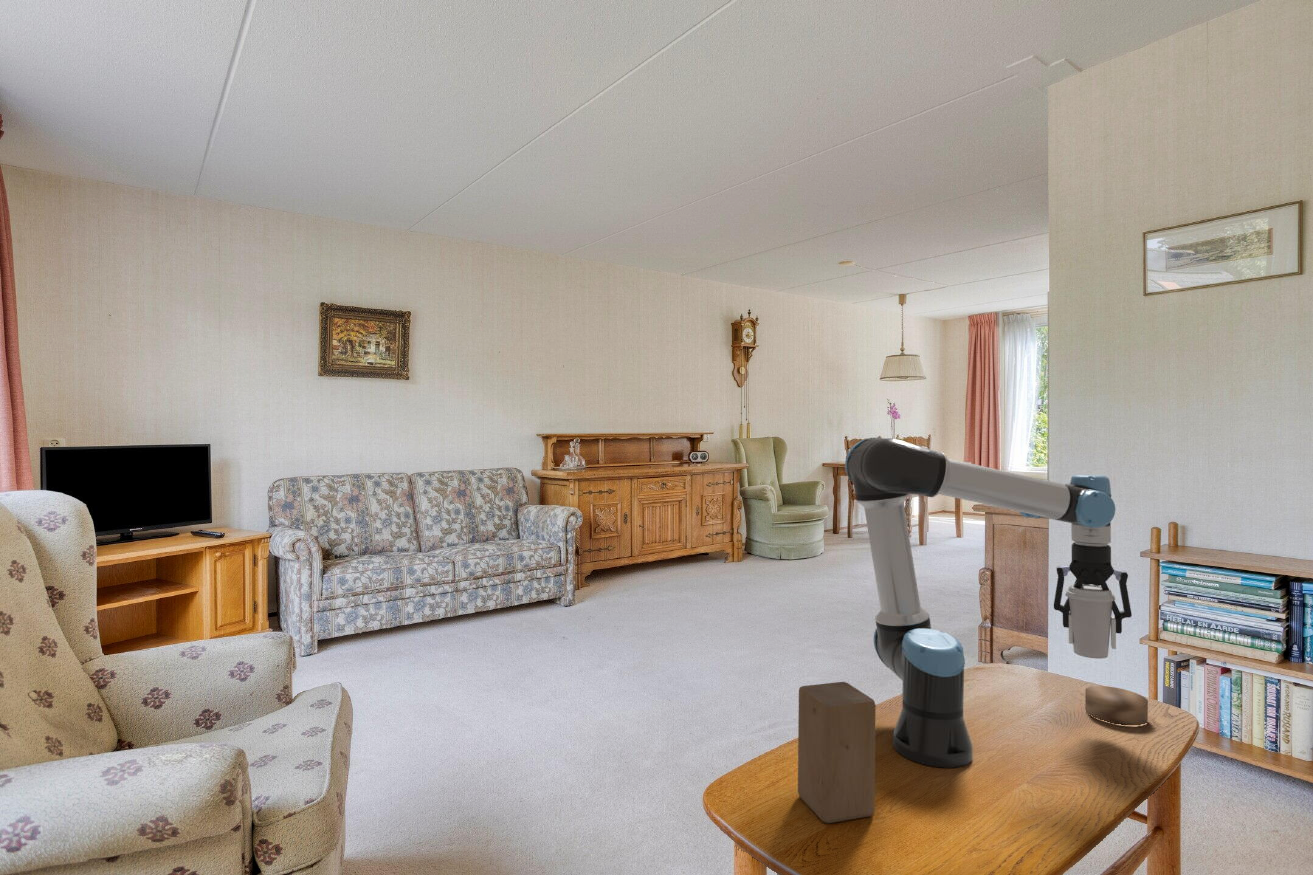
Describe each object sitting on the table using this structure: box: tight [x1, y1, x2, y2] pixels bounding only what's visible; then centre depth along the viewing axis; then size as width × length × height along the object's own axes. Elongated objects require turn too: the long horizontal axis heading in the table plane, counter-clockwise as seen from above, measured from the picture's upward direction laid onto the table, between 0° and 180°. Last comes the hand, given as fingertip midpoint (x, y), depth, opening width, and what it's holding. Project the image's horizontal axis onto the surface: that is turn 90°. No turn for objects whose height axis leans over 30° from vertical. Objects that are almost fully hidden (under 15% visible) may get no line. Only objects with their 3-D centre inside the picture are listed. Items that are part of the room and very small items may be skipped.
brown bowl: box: [1084, 685, 1149, 725], centre depth 158 cm, size 12×12×5 cm
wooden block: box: [797, 681, 876, 824], centre depth 118 cm, size 10×10×20 cm
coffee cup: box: [1065, 583, 1116, 660], centre depth 153 cm, size 10×10×15 cm
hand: (1091, 644), depth 153 cm, fingers closed on coffee cup, 7 cm apart
